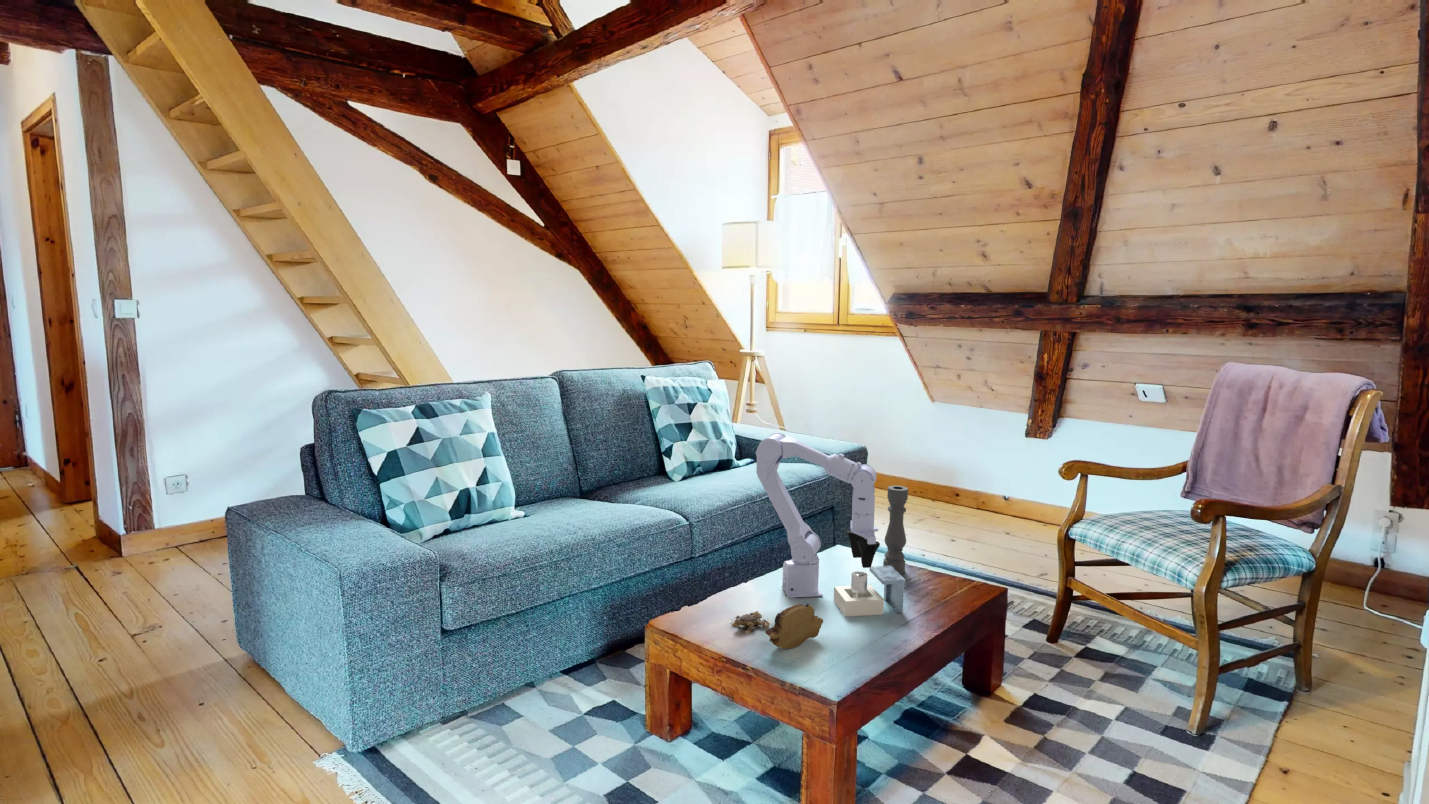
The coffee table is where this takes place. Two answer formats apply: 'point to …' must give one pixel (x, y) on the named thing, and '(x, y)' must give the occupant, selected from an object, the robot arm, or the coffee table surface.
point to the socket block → (858, 602)
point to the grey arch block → (891, 585)
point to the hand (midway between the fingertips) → (861, 562)
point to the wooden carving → (794, 626)
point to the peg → (859, 585)
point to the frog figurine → (751, 621)
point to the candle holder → (896, 528)
